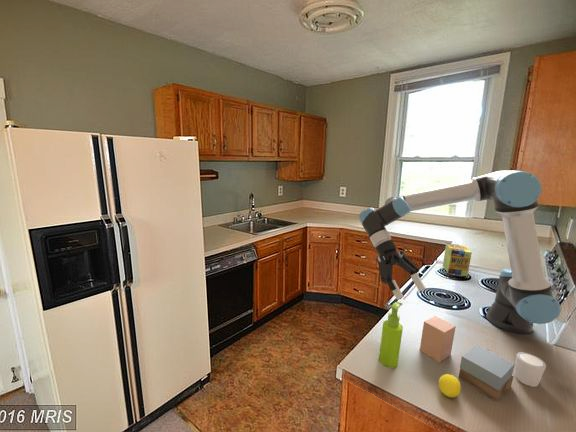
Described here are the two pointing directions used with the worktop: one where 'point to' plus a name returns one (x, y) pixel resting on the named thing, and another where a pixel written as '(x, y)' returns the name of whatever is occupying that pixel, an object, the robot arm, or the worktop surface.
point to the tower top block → (487, 366)
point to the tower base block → (485, 385)
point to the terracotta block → (437, 338)
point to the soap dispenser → (391, 338)
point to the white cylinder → (529, 369)
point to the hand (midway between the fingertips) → (412, 294)
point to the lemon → (449, 385)
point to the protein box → (457, 259)
